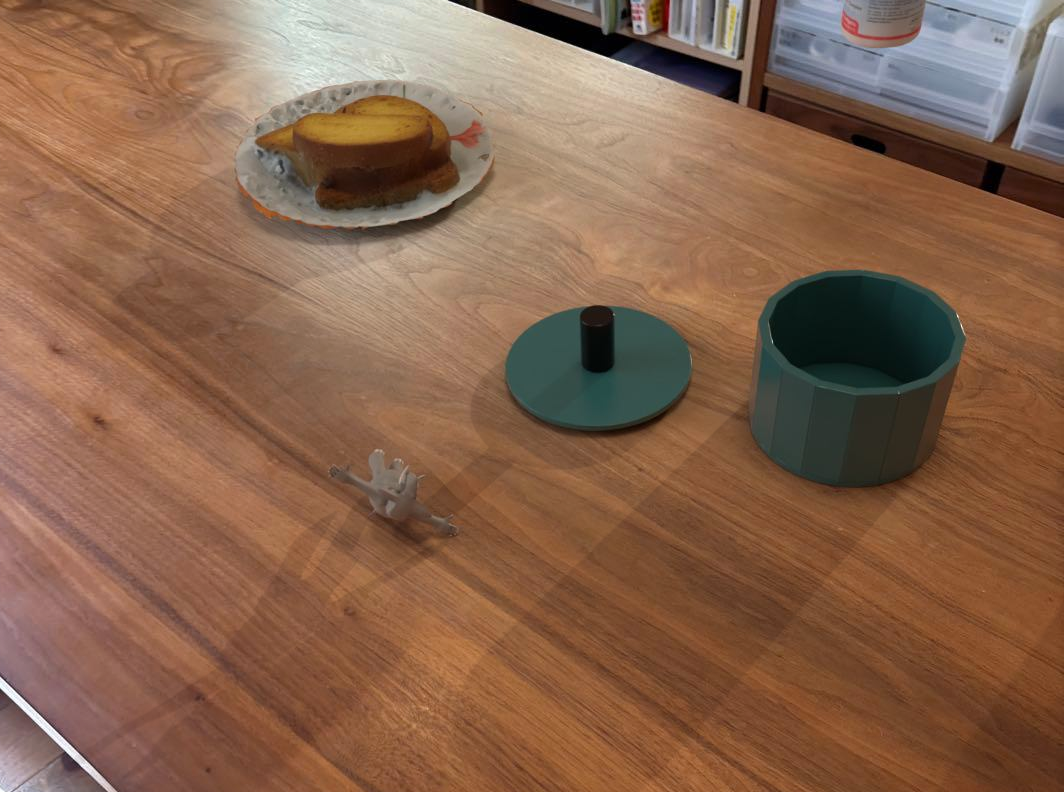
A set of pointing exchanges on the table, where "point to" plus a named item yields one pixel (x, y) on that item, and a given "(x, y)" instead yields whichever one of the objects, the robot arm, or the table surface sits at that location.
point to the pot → (853, 376)
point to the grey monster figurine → (393, 492)
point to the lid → (598, 368)
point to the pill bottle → (882, 22)
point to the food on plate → (363, 154)
